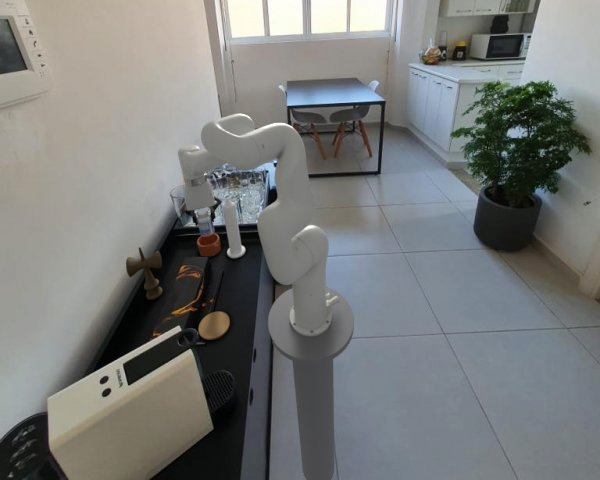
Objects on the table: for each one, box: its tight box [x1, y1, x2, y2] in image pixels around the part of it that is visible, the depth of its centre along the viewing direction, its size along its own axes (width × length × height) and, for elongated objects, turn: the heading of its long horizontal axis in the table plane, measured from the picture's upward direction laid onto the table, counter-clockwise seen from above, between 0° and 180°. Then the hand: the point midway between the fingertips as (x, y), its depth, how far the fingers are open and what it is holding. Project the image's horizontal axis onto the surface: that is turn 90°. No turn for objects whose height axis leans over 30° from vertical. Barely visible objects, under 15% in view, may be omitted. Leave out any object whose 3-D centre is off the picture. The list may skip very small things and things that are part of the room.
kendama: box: [125, 246, 163, 301], centre depth 100 cm, size 6×10×20 cm, turn 110°
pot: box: [196, 232, 222, 258], centre depth 122 cm, size 8×8×5 cm
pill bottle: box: [196, 208, 215, 237], centre depth 118 cm, size 6×5×10 cm
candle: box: [221, 196, 246, 259], centre depth 116 cm, size 7×7×25 cm
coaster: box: [198, 311, 231, 341], centre depth 92 cm, size 9×9×1 cm
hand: (204, 221), depth 117 cm, fingers closed on pill bottle, 5 cm apart
